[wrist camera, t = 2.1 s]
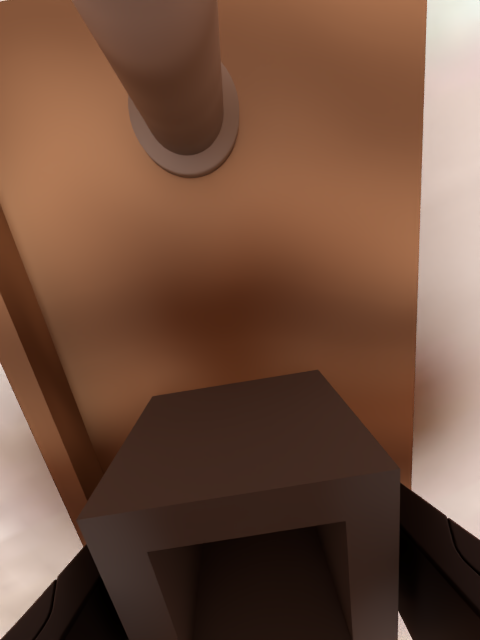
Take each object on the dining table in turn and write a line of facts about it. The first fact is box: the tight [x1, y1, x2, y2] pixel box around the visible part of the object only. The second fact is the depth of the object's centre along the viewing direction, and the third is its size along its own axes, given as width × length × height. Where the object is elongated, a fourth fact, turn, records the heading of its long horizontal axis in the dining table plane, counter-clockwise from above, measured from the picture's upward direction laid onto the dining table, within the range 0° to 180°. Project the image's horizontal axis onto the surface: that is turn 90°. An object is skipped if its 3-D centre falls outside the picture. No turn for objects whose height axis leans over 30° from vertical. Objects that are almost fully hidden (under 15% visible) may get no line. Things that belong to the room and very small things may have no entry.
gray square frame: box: [76, 370, 400, 640], centre depth 7 cm, size 6×6×4 cm
